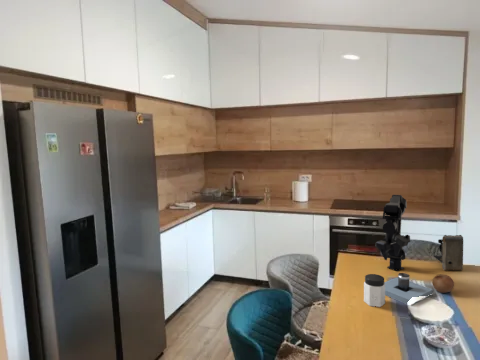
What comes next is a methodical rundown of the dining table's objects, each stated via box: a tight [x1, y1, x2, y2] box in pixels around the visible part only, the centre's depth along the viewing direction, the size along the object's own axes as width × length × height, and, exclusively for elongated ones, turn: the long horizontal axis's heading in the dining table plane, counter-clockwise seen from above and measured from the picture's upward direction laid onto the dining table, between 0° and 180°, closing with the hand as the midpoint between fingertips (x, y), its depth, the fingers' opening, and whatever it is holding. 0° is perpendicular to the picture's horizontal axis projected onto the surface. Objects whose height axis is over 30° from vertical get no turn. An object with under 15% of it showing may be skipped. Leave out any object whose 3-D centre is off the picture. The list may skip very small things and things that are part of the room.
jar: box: [363, 273, 386, 308], centre depth 153 cm, size 9×8×12 cm
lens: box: [397, 272, 411, 292], centre depth 161 cm, size 5×5×9 cm
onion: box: [431, 273, 455, 294], centre depth 161 cm, size 9×9×10 cm
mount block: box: [384, 276, 434, 305], centre depth 162 cm, size 18×18×2 cm
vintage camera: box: [433, 234, 464, 272], centre depth 190 cm, size 10×16×20 cm, turn 174°
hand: (391, 258), depth 175 cm, fingers open, 9 cm apart
